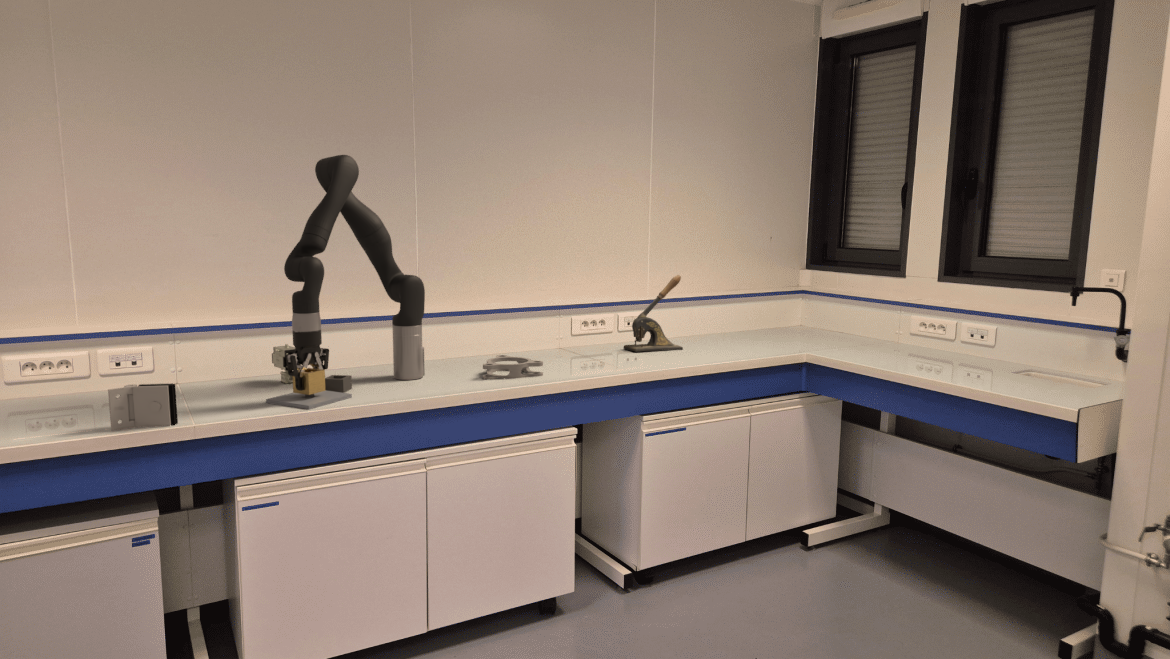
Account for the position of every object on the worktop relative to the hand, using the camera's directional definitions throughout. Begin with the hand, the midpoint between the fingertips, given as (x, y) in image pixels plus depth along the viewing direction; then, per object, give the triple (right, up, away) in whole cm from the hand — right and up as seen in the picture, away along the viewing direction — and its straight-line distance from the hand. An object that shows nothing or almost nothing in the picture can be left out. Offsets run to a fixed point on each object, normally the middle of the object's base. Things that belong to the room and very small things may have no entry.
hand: (309, 387), depth 211 cm
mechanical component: (+51, +1, +42) cm, 66 cm away
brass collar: (0, -1, 0) cm, 1 cm away
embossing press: (+105, +8, +93) cm, 141 cm away
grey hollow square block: (+4, -2, +13) cm, 14 cm away
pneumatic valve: (-15, 0, +23) cm, 28 cm away
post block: (0, -3, 0) cm, 4 cm away
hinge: (-30, -7, -28) cm, 42 cm away
